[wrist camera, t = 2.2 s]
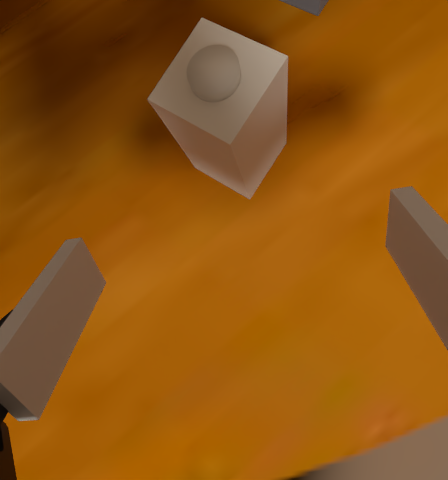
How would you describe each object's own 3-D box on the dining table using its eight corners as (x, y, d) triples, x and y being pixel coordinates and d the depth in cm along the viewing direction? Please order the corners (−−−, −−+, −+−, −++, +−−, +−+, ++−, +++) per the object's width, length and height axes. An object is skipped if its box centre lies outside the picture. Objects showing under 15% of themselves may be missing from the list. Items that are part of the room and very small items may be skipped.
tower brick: (195, 167, 30) (141, 91, 19) (230, 113, 31) (198, 5, 19) (249, 199, 29) (227, 138, 18) (286, 142, 29) (288, 45, 18)
